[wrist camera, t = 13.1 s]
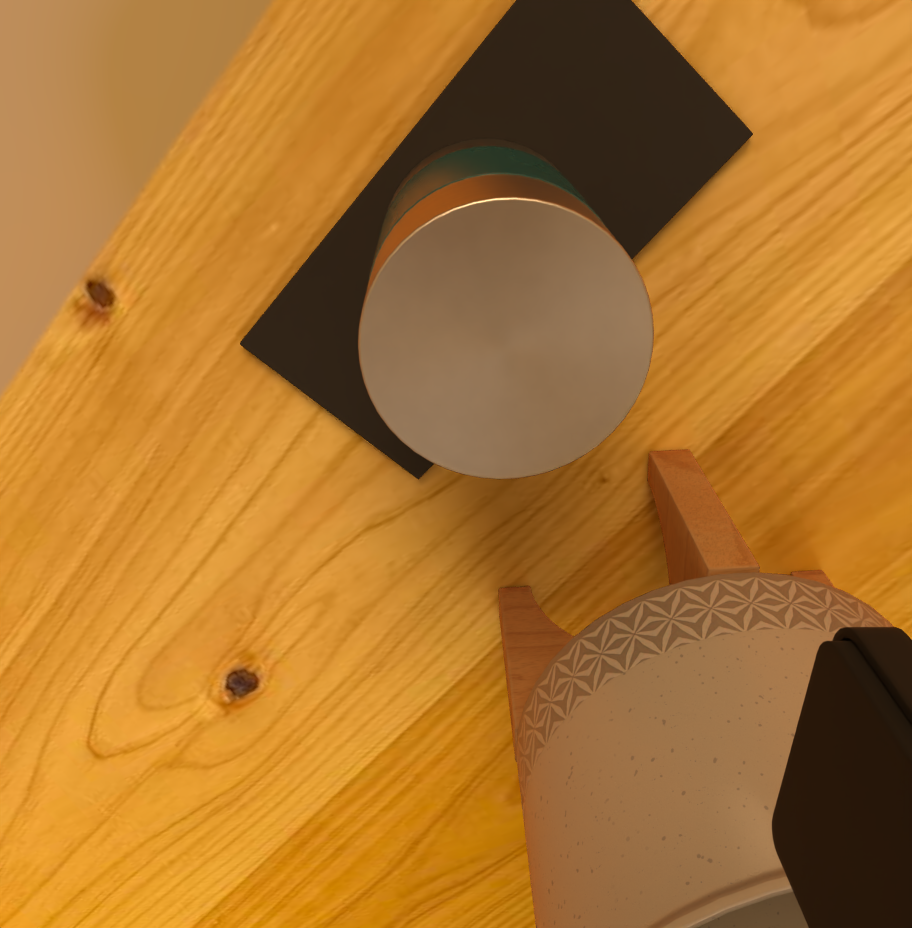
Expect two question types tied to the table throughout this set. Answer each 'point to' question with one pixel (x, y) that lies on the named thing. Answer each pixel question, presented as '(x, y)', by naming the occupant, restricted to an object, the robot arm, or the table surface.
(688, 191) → the black flat rectangular slab
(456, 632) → the table surface
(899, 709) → the robot arm
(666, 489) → the planter
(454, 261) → the can
